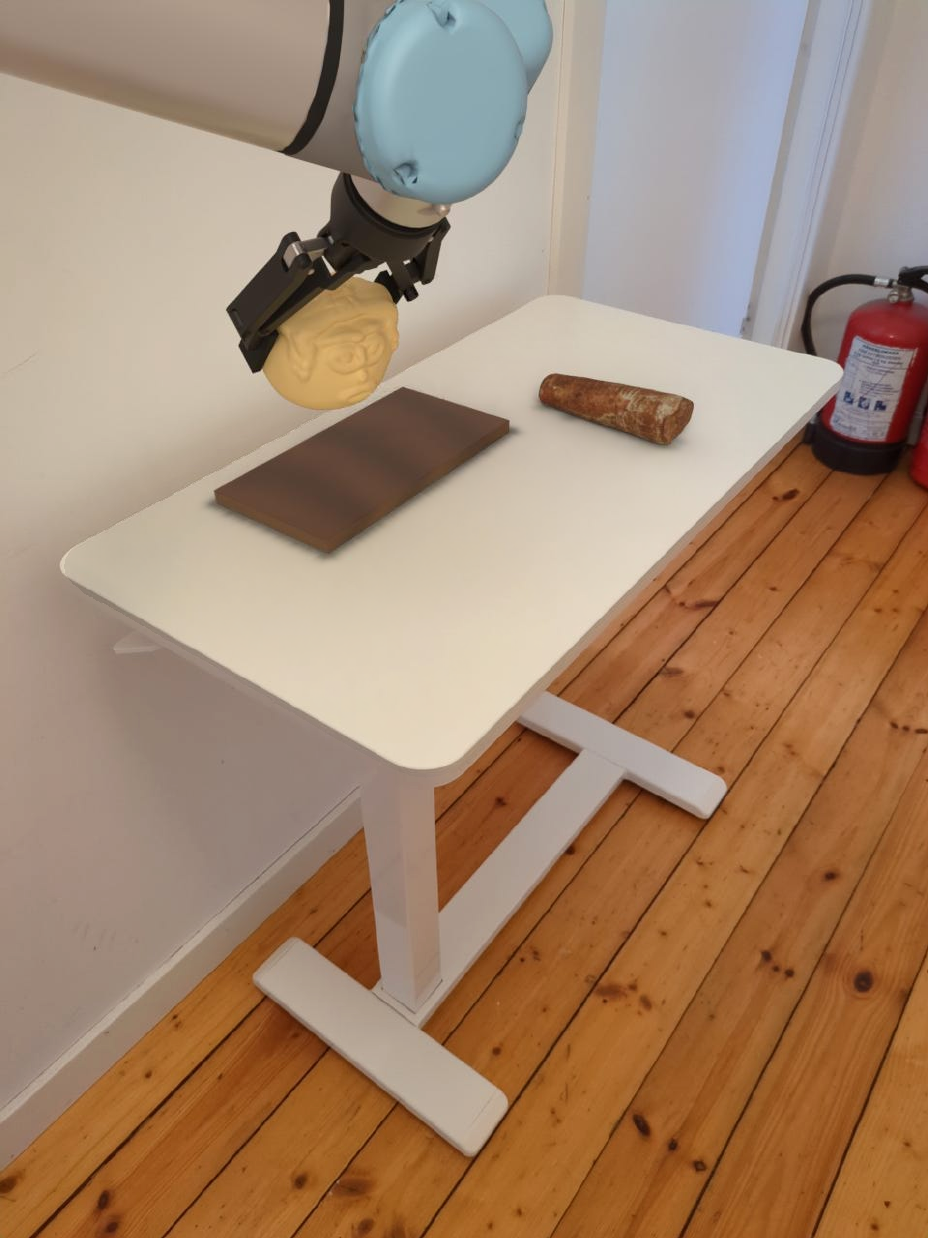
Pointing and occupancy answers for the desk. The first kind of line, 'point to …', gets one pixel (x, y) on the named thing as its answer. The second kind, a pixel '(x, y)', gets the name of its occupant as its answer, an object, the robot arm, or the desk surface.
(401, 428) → the cutting board
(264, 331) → the robot arm
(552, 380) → the bread
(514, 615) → the desk surface
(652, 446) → the desk surface
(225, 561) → the desk surface
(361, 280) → the sculpture
